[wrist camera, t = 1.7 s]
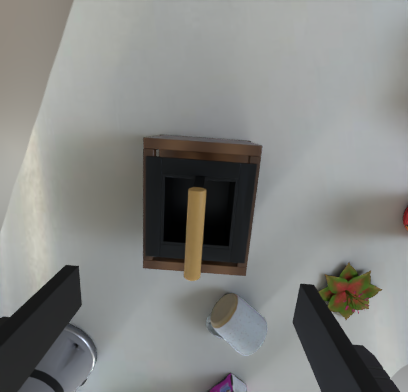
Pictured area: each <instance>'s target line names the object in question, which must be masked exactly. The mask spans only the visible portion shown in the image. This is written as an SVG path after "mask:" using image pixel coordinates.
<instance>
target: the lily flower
mask: <svg viewBox="0 0 408 392" xmlns="http://www.w3.org/2000/svg"><path fill="white" fill-rule="evenodd" d="M370 273H371V271H369V272H367V273H365V274H363V275H361V276H358V274H357V272H356V270H355V269H354V268H353V267H352V266H350V263H348V265H347V266H346V267H345V269H344V270H343V271H342V273H341V274H340V276H339V277H335V276H328V275H325V276H326V280H327V281H328V282H327V284H328V287H326V288H324V289H322V290H320V291H319V294H320V296H321V297H322V299H323V300H324V301H329V304H328V308H329V309H330V311H333V312H340V314H341V315H342V316H343V317H345V319H346V320H347V318H349V317H350V315H352V314H353V313H354V312H355V310H357V311H358V310H363V309H365V308H366V309H369V305H368V304H369V300H368V299H369V298H371V297H373V296H375V295H376V294H377V293H378V292H379V291H381V290H382V289H380V288H377V287H376V286H374V285H372V284H370V283H371V276H370ZM358 313H359V311H358Z"/></svg>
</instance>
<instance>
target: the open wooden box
mask: <svg viewBox="0 0 408 392" xmlns="http://www.w3.org/2000/svg"><path fill="white" fill-rule="evenodd" d="M143 148H144V149H143V268H148V269H161V270H175V271H184V264H185V259H179V258H165V257H152V256H145V251H146V156H156V149H159V157H170V158H184V159H198V160H212V161H226V162H240V163H253V164H257V170H256V178H255V186H254V194H253V202H252V209H251V217H250V225H249V233H248V241H247V249H246V257H245V263H232V262H219V261H205V260H201V273H214V274H228V275H241V276H246V269H247V261H248V253H249V246H250V238H251V230H252V223H253V215H254V207H255V200H256V192H257V184H258V177H259V169H260V161H261V153H262V146H261V145H258V144H255V143H252V142H251V141H244V140H230V139H216V138H202V137H188V136H174V135H160V136H152V137H144V138H143Z"/></svg>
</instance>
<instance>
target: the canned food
mask: <svg viewBox="0 0 408 392" xmlns="http://www.w3.org/2000/svg"><path fill="white" fill-rule="evenodd" d="M403 223H404V226H405V228H406V229H407V230H408V207H407V208H406V210H405V212H404V216H403Z"/></svg>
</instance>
